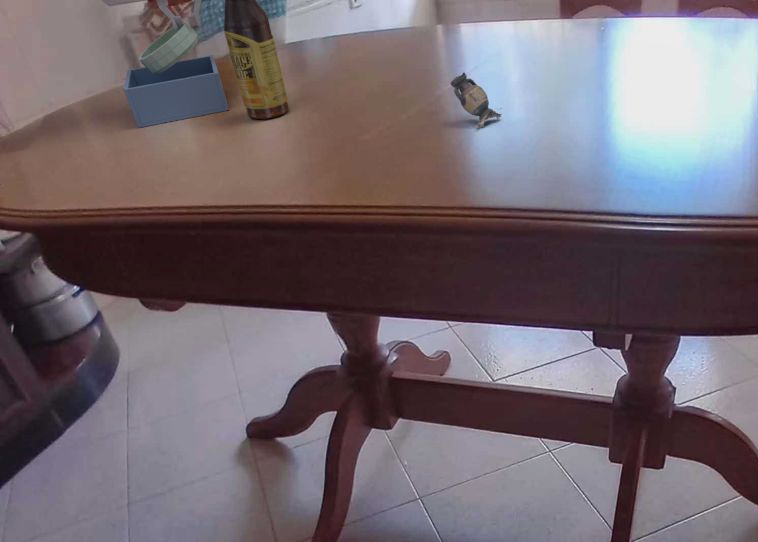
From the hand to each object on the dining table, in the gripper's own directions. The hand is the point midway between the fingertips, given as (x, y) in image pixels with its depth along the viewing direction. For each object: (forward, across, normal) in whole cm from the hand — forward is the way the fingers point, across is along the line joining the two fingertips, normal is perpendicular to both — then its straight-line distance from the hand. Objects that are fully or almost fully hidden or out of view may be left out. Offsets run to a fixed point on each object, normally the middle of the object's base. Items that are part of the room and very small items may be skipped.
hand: (188, 28), depth 104 cm
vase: (+11, -32, +35) cm, 49 cm away
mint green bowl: (+3, +3, 0) cm, 4 cm away
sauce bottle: (+11, -8, +13) cm, 19 cm away
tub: (+11, +4, 0) cm, 12 cm away
